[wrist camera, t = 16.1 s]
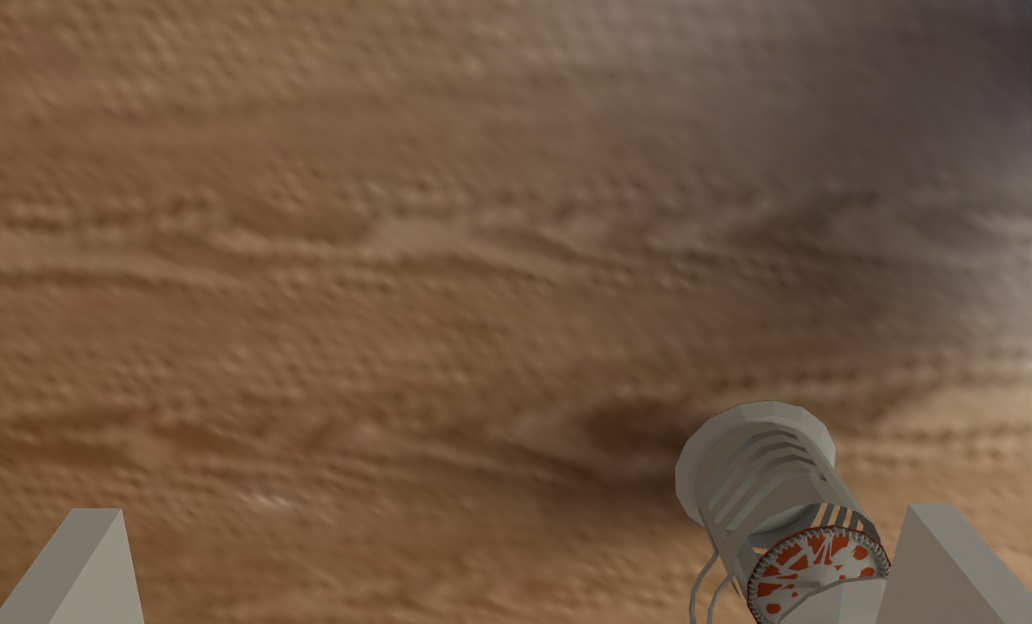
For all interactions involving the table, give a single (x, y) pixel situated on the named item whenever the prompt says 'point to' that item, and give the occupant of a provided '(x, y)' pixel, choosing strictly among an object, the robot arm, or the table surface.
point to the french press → (780, 517)
